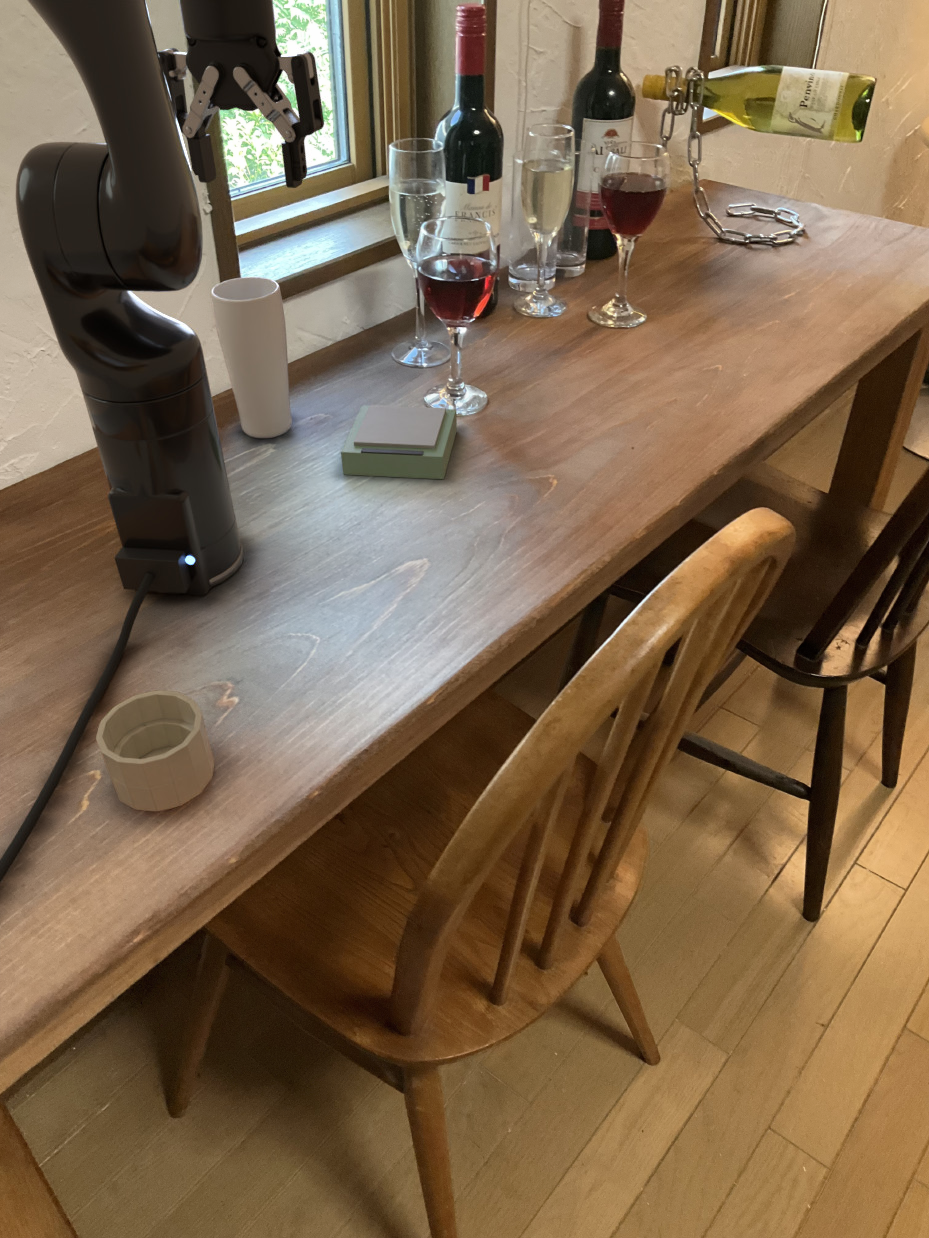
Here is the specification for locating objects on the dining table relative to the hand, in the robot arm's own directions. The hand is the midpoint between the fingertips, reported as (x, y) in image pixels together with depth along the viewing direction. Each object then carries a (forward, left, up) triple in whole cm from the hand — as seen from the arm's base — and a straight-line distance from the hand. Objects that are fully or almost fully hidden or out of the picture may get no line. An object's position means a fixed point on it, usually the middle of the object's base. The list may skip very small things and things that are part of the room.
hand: (251, 183), depth 87 cm
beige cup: (-49, -5, -24) cm, 55 cm away
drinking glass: (-1, +2, -25) cm, 25 cm away
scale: (-4, -13, -24) cm, 28 cm away
